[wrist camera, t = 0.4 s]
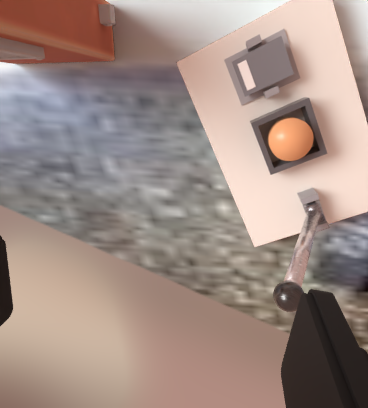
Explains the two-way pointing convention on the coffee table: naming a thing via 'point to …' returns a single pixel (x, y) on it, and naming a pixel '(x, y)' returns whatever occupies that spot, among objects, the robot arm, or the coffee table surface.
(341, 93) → the switch board
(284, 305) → the toggle lever
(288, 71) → the rocker switch
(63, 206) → the coffee table surface
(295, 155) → the push button
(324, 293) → the robot arm
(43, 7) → the control panel
